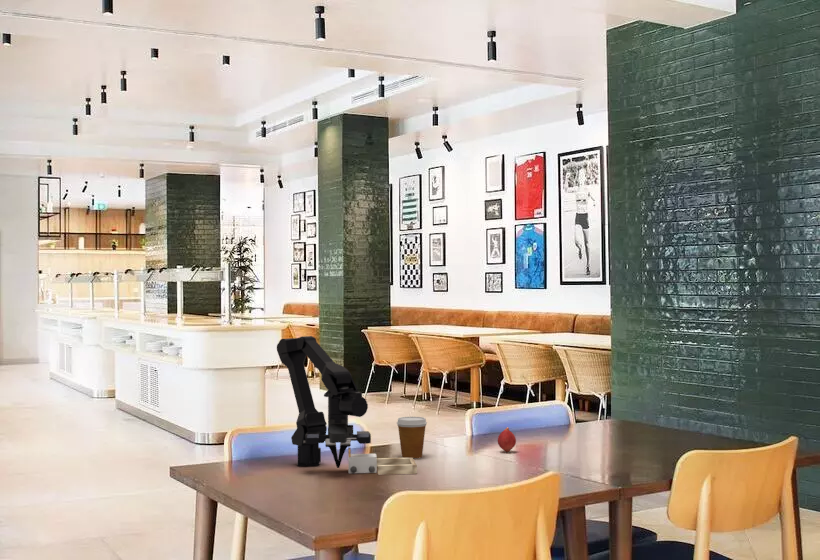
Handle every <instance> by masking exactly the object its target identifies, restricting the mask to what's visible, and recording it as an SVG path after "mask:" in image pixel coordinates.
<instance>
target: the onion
mask: <svg viewBox="0 0 820 560" xmlns="http://www.w3.org/2000/svg"><path fill="white" fill-rule="evenodd" d="M497 444H498V446H499V448H500V449H502V450H503V451H504V452H505V453H509V452H510V451H511V450H512V449H513V448H514V447H515V446H516V444H517V437H516V435H515V434H514V433H513V431H510V429H509V427H508V426H507V427H506V428H505V429H504V430H502V431H501V433H499V435H498V437H497Z"/></svg>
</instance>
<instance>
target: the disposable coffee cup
mask: <svg viewBox="0 0 820 560" xmlns="http://www.w3.org/2000/svg"><path fill="white" fill-rule="evenodd" d="M427 423H428V422H427V420H426V417H424V416H402V417H398V419H397V421H396V425H397V428H398V436H399V444H400V451H401V458H416V459H421V458H422V457H423V451H424V442H425V433H426V426H427Z"/></svg>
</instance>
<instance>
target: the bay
mask: <svg viewBox="0 0 820 560" xmlns="http://www.w3.org/2000/svg"><path fill="white" fill-rule="evenodd" d="M417 466H418V465H417V463H416V461H415V459H413V458H403V457H378V458H377V475H378V476H379V475H380V476H381V475H382V476H383V475H384V476H387V475H390V476H391V475H417V474H418V471H417V470H418V467H417Z"/></svg>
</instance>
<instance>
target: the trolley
mask: <svg viewBox="0 0 820 560" xmlns="http://www.w3.org/2000/svg"><path fill="white" fill-rule="evenodd" d="M347 448H348V449H347V450H348V451H347V453H348V455H347V457H348V459H347V461H348V462H347V463H348V469H347V470H348V474H374V473H375V474H378V468H377V457H378V456H377V453H351V452H352V450H351V449H352V448H351V447H347Z"/></svg>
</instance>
